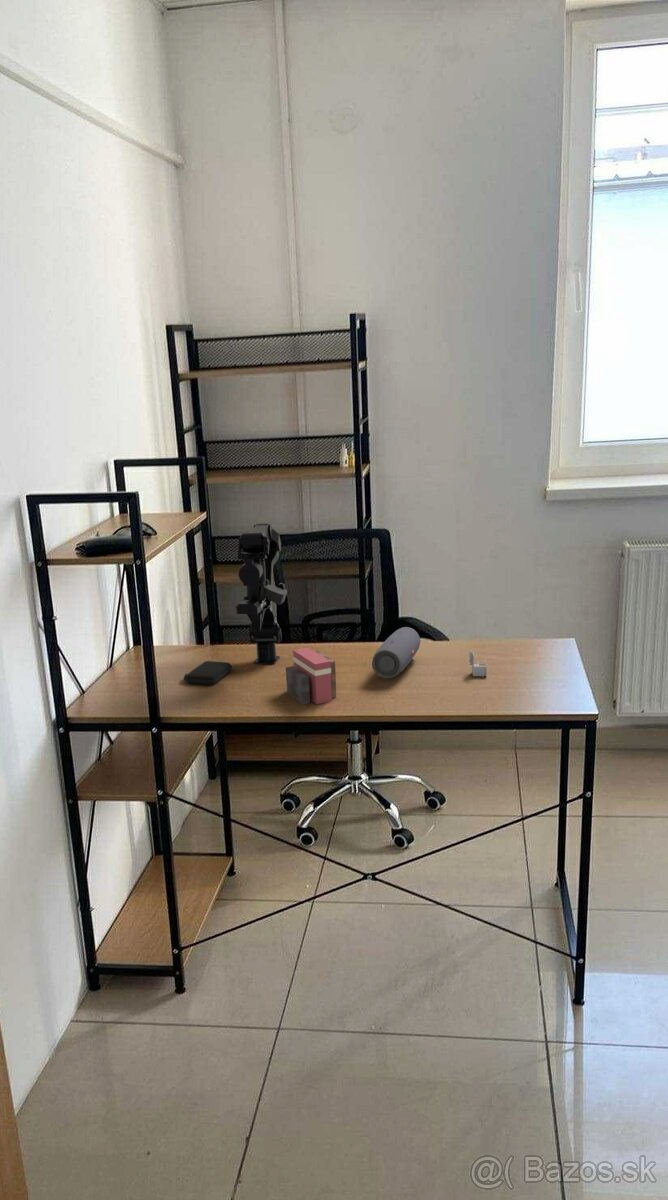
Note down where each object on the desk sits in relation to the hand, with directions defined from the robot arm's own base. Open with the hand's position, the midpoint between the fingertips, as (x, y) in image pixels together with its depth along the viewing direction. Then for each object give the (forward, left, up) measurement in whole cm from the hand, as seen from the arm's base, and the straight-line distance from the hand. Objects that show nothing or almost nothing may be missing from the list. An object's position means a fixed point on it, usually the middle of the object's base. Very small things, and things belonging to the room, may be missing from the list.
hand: (258, 630), depth 255 cm
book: (+13, +19, -13) cm, 27 cm away
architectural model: (-14, +62, -14) cm, 65 cm away
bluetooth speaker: (-10, +38, -13) cm, 41 cm away
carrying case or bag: (+4, -15, -14) cm, 21 cm away
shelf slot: (+13, +19, -13) cm, 26 cm away
